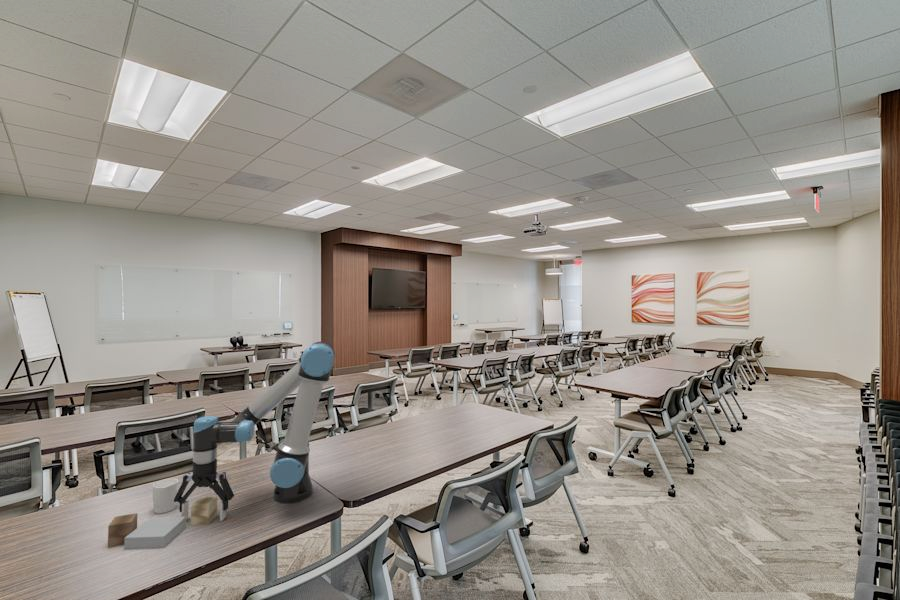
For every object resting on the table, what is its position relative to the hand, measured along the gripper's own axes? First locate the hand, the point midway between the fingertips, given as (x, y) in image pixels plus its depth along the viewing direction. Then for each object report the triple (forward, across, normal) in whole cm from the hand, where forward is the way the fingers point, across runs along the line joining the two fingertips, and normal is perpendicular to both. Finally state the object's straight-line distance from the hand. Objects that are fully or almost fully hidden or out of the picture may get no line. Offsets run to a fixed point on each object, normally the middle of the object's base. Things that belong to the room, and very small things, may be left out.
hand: (203, 519), depth 142 cm
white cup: (0, +19, -9) cm, 21 cm away
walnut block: (0, +20, +11) cm, 23 cm away
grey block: (+1, +10, +10) cm, 14 cm away
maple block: (0, 0, 0) cm, 0 cm away
